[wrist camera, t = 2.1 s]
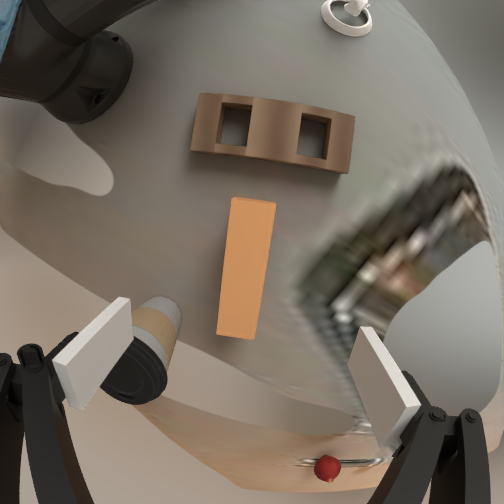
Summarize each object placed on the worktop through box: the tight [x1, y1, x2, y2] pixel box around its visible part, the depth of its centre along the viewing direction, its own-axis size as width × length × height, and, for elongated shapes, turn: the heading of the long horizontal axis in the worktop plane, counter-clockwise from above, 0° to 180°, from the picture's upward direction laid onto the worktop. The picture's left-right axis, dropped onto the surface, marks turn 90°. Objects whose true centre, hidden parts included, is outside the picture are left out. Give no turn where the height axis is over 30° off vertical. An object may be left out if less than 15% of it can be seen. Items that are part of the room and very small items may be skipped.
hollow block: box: [190, 93, 355, 174], centre depth 29 cm, size 18×7×3 cm, turn 82°
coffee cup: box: [99, 296, 181, 405], centre depth 30 cm, size 9×9×15 cm
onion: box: [314, 455, 341, 483], centre depth 42 cm, size 6×6×8 cm
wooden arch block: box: [217, 197, 276, 340], centre depth 30 cm, size 14×4×9 cm, turn 172°
